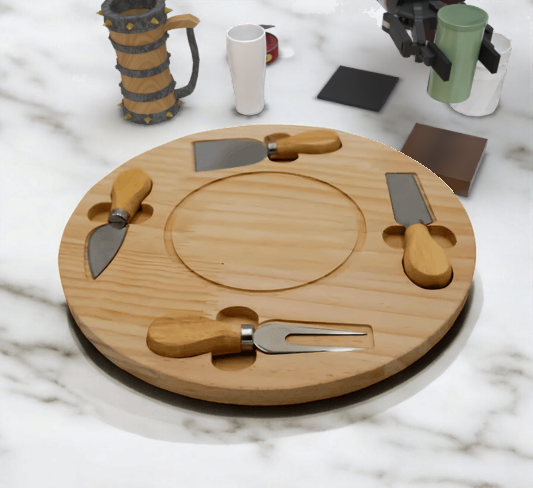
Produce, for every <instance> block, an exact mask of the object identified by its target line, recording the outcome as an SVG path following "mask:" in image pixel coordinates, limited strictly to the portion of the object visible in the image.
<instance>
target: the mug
mask: <svg viewBox="0 0 533 488" xmlns="http://www.w3.org/2000/svg"><path fill="white" fill-rule="evenodd" d="M166 1H167V0H104V1H103V2H102V3H101V4H100V10H99V11H97V12H95V14H96V15H99V16H102V17H103V24H102V26H104V27H105V28H107V30H108V33H109V34H108V37H107V39H108V40H109V41H110V44H111V45H112V48H113V49H114V51H115V56H116V60H115V61H116V64H115V65H114V69H115V70H118V72H119V73H120V78H121V80H120V82H119V83H118V87H119V88H120V94H121V95H122V97H123V98H122V99H121V102H120V103H118V104H117V106H118V107H121V108H122V109H123V115H124V117H123V119H124V120H128V121H130V122H132V123H135V124H138V125H155V124H161V123H163V122H166V121H169V120H171V119H172V118H174V117H175V116H176V115H177V114H178V112H179V111H180V109H181V106H182V105H184V104H186V102H185V101H182V100H180V99H182V98H183V99H184V98H186V97H188V96H190V95H192V93H194V91H195V89H196V86H197V83H198V78H199V72H200V71H199V70H200V61H201V58H200V53H199V47H198V43H197V40H196V35H195V30H194V29H195V28H196V27H197V26H198V25H199V23H200V22H201V20H200V18H199V17H197V16H195V15H193V14H191V13H186V14H185V13H184V14H177V15H173V16H170V17H168V14H169V13H171V12H173V11H174V10H173V9H171V8H169V7H166V6H167V5H166ZM176 29H185V31H186V39H187V42H188V46H189V50H190V54H191V59H192V60H191V61H192V67H191V69H192V70H191V74H190V78H189V81H188V83H187V84H186V85H185V86H182V87H179V88H176V85H177V81H176V80H175V79H174V77H173V74H172V73H171V69H170V64H171V59H170V58H171V57H172V54H171V52H169V51H168V50H167V49H168V47H167V41H168V39H170V34H169V32H168V31H172V30H176Z"/></svg>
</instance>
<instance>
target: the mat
mask: <svg viewBox="0 0 533 488" xmlns="http://www.w3.org/2000/svg"><path fill="white" fill-rule="evenodd" d="M399 80H400V77H399V76H395V75H390V74H386V73H379V72H374V71H370V70H365V69H362V68H361V69H360V68H355V67H350V66H347V65H346V66H345V65H341V64H340V65H339V67H337V69H336V70H335V71H334V73H333V74H332V75H331V77H330V78H329V79H328V80H327V82H326V83H325V84H324V86H323V87H322V89H321V90H320V91H319V92H318V94H317V96H316V99H320V100H323V101H329V102H333V103H336V104H342V105H345V106H350V107H353V108H360V109H363V110H367V111H373V112H376V113H379V112H380V110H381V109H382V107H383V106H384V104H385V102H386V101H387V100H388V98H389V96H390V94H391V93H392V91H393V90H394V88H395V87H396V85H397V84H398V82H399Z"/></svg>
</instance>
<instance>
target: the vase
mask: <svg viewBox="0 0 533 488" xmlns="http://www.w3.org/2000/svg"><path fill="white" fill-rule="evenodd" d="M491 43H492V44H493V45H494V47H495V48H494V49H495V50H496V51H497V52H498V53H499V54H500V55H501V58H500V62H499V66H498V70H497V73H495V74H491V73H490V72H489V71H488V70H487V69H486V68H485V67H484V65H483V64H482V63H481V62H480V61H479V60H478V62H477V67H476V72H475V76H474V81H473V86H472V90H471V95H470V97H469V98H468V99H467V100H465V101H463V102H460V103H448V105H449V106H450V107H451V108H452V109H453V110H454V111H455V112H457V113H460V114H463V115H464V116H469V117H484V116H487V115H491V114H493V113H494V111H495V110H496V109H497V107H498V105H499V102H500V98H501V92H502V90H503V86H504V83H505V79H506V75H507V67H506V66H505V65H506V64H508V63H509V61H510V57H511V53H512V50H513V47H514V46H513V42H512V38H510V37H508V36H507V35H505V34H503V33H502V32H498V31H494V30H493V35H492V39H491Z"/></svg>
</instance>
